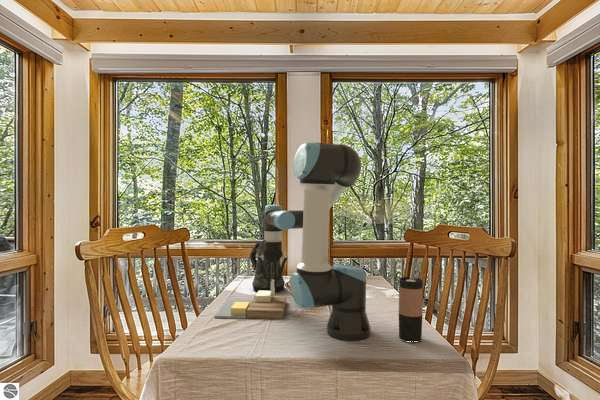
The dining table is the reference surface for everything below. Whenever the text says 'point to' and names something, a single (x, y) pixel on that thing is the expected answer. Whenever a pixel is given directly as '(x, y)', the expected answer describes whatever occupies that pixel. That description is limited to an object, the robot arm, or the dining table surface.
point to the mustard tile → (239, 308)
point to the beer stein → (259, 280)
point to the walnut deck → (267, 308)
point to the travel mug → (410, 308)
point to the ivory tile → (263, 296)
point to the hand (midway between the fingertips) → (272, 295)
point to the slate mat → (226, 309)
